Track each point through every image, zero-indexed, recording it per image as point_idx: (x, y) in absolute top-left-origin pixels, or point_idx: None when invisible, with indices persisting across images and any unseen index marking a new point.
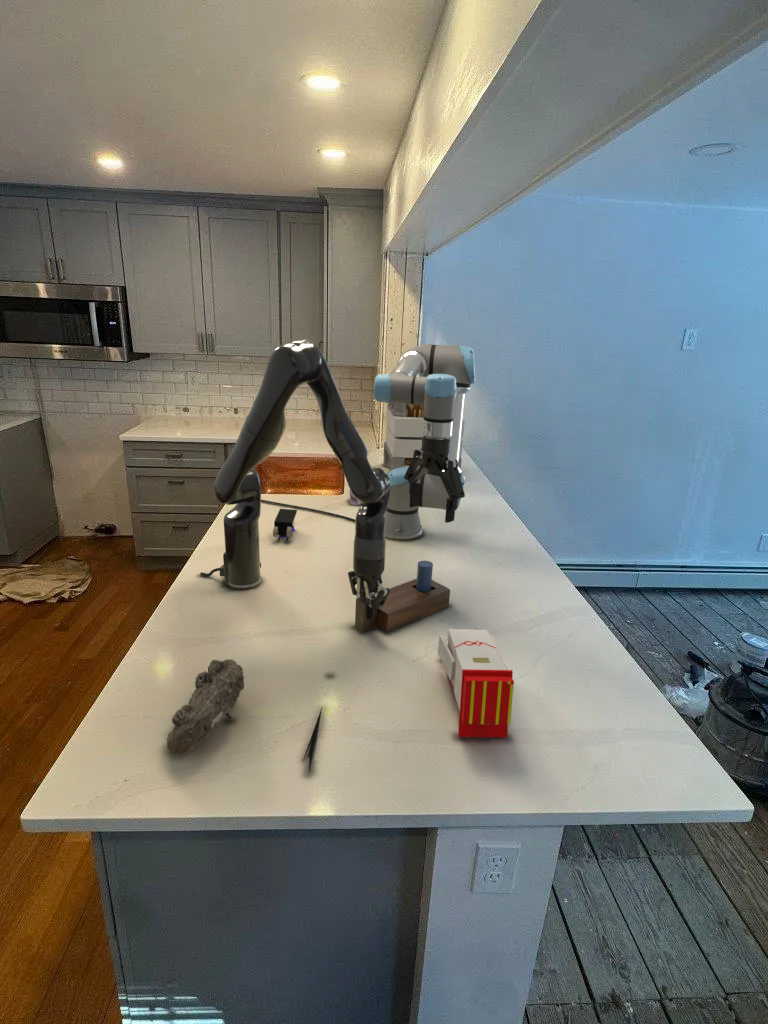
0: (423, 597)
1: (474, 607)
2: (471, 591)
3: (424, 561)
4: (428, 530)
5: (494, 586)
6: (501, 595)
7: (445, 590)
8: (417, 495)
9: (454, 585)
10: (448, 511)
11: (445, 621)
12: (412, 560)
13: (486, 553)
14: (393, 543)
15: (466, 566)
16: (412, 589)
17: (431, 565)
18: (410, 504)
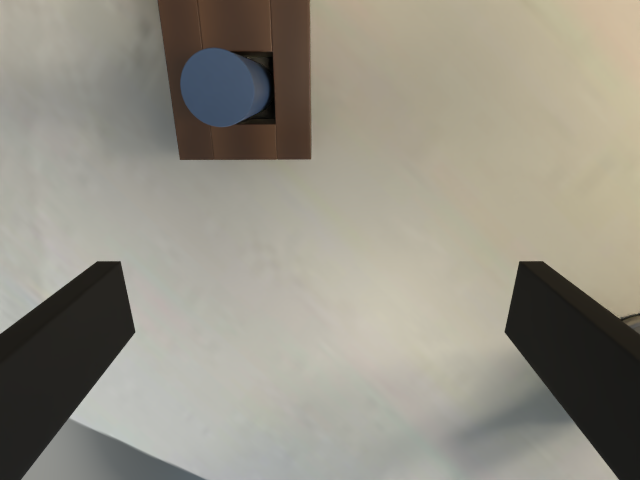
0: (176, 24)
1: (155, 205)
2: (232, 265)
3: (239, 104)
4: (573, 430)
5: (220, 331)
6: (172, 310)
7: (180, 138)
8: (562, 383)
9: (286, 254)
10: (26, 320)
11: (127, 68)
12: (480, 269)
13: (368, 441)
14: (602, 303)
15: (349, 356)
16: (250, 37)
17: (186, 99)
18: (543, 271)
